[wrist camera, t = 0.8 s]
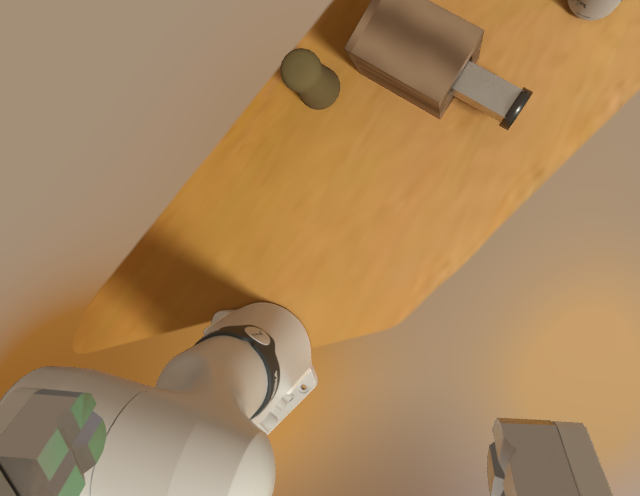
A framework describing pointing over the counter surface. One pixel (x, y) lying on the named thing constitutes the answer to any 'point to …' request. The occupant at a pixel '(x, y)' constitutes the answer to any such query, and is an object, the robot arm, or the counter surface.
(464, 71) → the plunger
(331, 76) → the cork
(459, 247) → the counter surface
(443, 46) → the block
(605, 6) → the energy drink can
